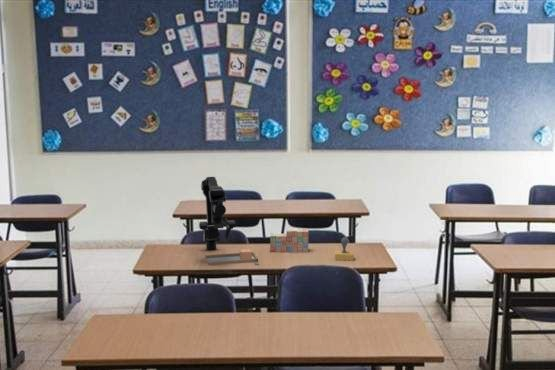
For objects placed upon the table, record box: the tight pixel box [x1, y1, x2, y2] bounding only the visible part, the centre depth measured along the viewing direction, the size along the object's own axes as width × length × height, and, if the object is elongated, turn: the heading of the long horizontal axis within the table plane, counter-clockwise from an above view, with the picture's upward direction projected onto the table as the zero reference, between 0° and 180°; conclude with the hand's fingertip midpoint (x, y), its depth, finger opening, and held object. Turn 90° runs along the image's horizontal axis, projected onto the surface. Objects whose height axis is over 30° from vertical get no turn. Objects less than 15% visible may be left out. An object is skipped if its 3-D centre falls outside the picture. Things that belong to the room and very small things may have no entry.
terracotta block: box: [238, 248, 253, 260], centre depth 335 cm, size 5×6×4 cm
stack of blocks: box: [269, 228, 309, 253], centre depth 353 cm, size 21×6×12 cm, turn 86°
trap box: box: [205, 251, 259, 266], centre depth 332 cm, size 13×26×3 cm, turn 103°
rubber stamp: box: [334, 237, 355, 261], centre depth 337 cm, size 10×6×12 cm, turn 85°
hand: (217, 240), depth 331 cm, fingers open, 9 cm apart
